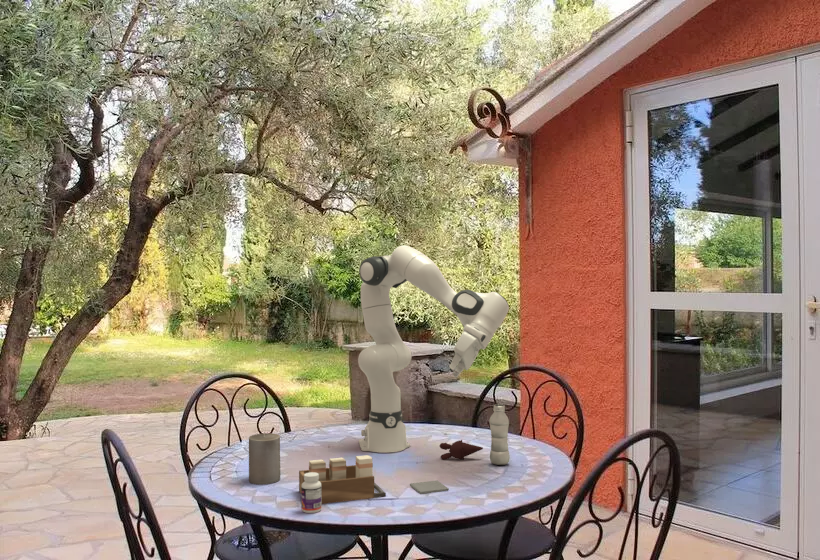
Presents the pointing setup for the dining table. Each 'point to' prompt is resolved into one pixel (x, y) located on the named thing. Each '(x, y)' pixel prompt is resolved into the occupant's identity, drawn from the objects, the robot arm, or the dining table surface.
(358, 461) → the banded cream pillar
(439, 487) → the pad
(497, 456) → the plastic bottle
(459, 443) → the icecream
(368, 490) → the dispenser
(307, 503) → the pill bottle
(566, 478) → the dining table surface
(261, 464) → the pillar candle
